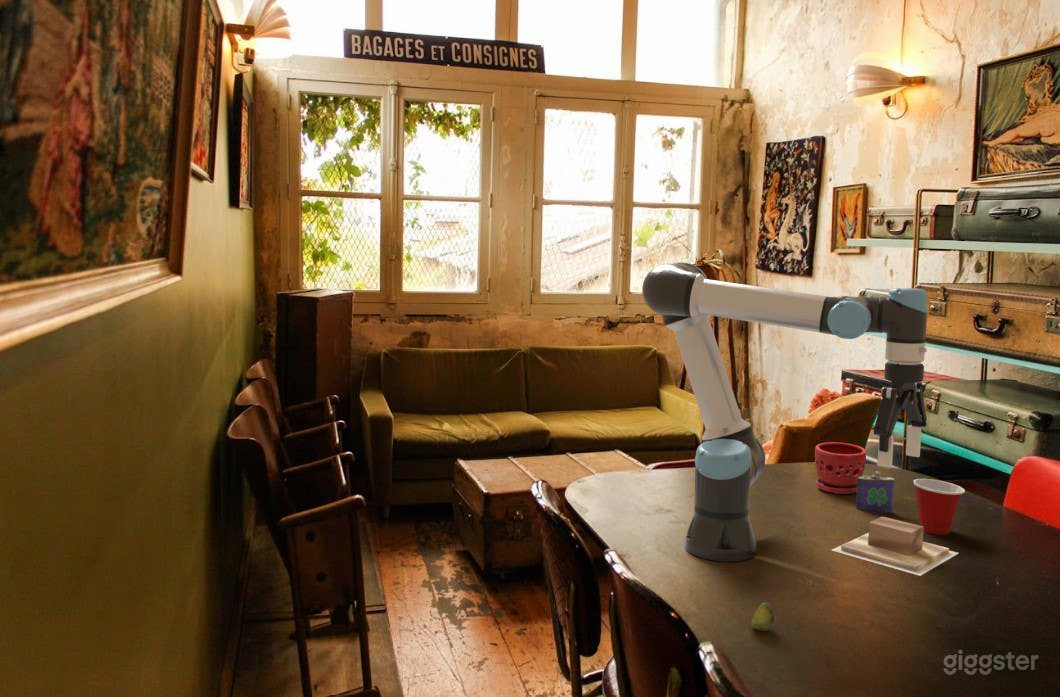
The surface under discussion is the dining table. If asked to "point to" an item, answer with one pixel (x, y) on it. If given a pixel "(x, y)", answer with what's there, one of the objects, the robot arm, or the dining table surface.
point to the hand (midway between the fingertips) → (899, 461)
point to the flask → (875, 494)
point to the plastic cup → (937, 504)
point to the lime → (764, 617)
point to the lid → (896, 544)
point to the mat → (919, 572)
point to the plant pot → (839, 466)
